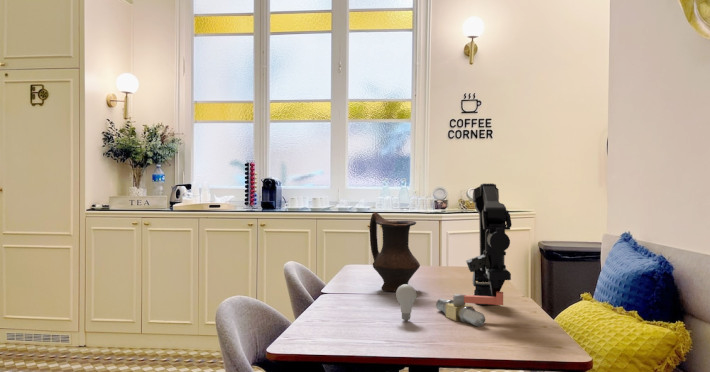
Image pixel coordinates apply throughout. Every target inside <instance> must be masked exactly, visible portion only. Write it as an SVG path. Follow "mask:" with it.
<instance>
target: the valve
mask: <svg viewBox="0 0 710 372" xmlns="http://www.w3.org/2000/svg"><path fill="white" fill-rule="evenodd" d="M435 308H436V309H437V310H438V311H439V312H443V314H444V315H445V318H448V319H450V320H452V321H454V322H462V323H463V324H466V323H468V324H470V325H472V326H475V327H482V326H483V325H484V324H485V322H486V316H485V314H484V313H483V312H481V311H476V309H475V308H474V306H473V305H471V304H469V303H465V305H454V304H453V299H446V298H442V297H441V298H439V299H438V300H437V301H436V304H435Z"/></svg>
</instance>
